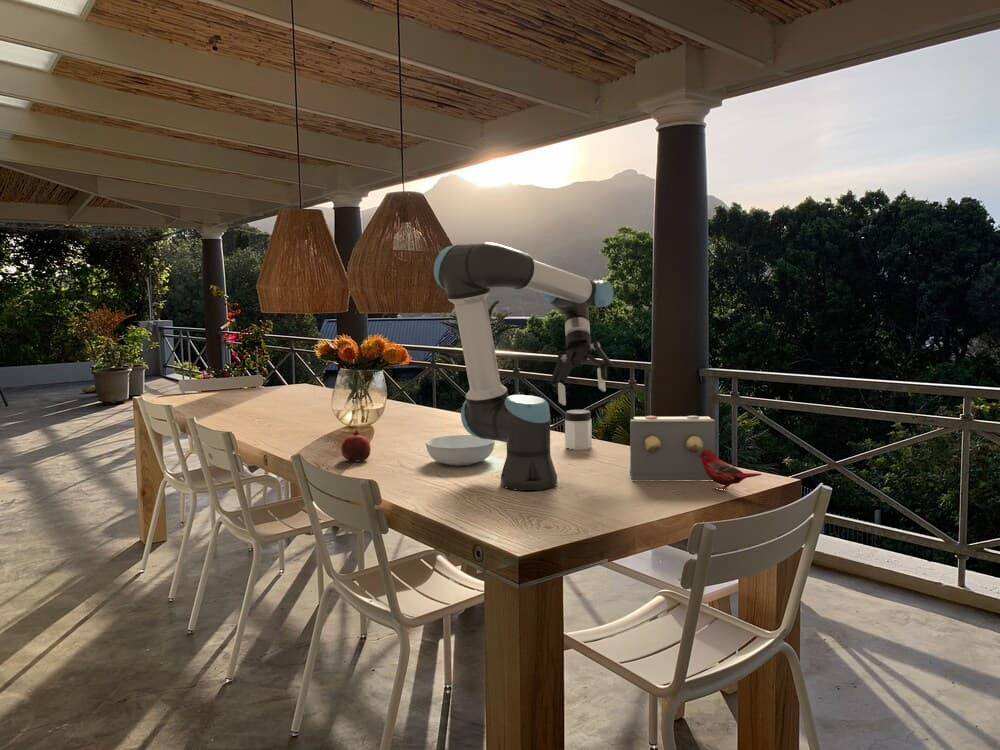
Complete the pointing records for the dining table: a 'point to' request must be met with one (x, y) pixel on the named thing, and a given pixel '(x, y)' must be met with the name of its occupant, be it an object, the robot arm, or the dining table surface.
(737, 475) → the decorative bird figurine
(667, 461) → the console
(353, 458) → the fruit
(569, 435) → the jar
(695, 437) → the knob
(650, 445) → the brass knob
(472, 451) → the serving bowl
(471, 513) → the dining table surface
